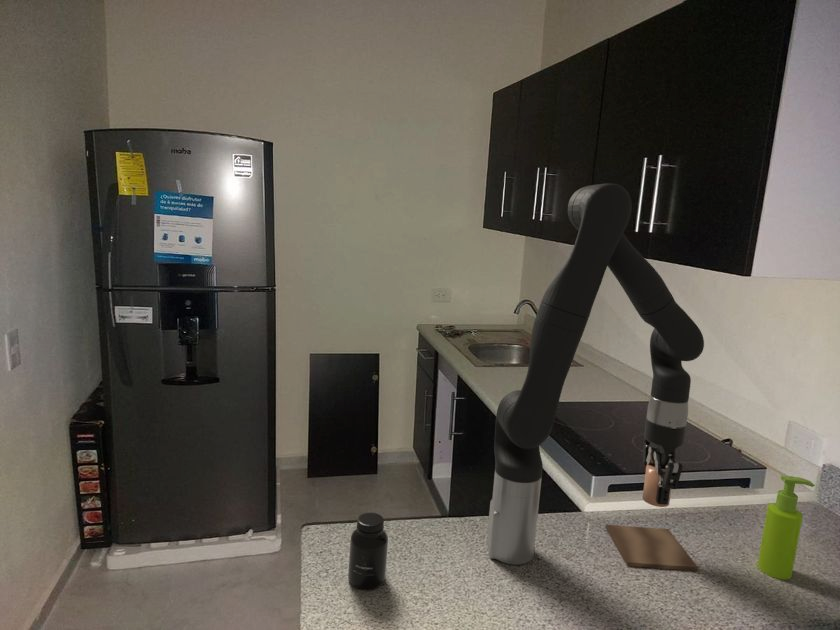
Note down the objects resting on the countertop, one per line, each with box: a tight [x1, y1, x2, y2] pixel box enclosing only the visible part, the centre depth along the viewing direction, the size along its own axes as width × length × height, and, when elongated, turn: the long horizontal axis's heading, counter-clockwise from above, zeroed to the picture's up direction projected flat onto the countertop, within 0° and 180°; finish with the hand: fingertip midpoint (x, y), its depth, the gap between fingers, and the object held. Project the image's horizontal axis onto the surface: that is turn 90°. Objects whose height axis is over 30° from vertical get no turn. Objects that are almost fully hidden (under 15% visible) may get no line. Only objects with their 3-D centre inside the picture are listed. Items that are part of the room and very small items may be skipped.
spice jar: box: [642, 465, 672, 508], centre depth 114 cm, size 5×5×7 cm
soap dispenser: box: [757, 475, 816, 580], centre depth 109 cm, size 6×7×20 cm
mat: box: [605, 524, 699, 572], centre depth 116 cm, size 14×14×1 cm
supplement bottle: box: [347, 512, 389, 591], centre depth 99 cm, size 7×7×12 cm
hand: (656, 496), depth 114 cm, fingers closed on spice jar, 5 cm apart
